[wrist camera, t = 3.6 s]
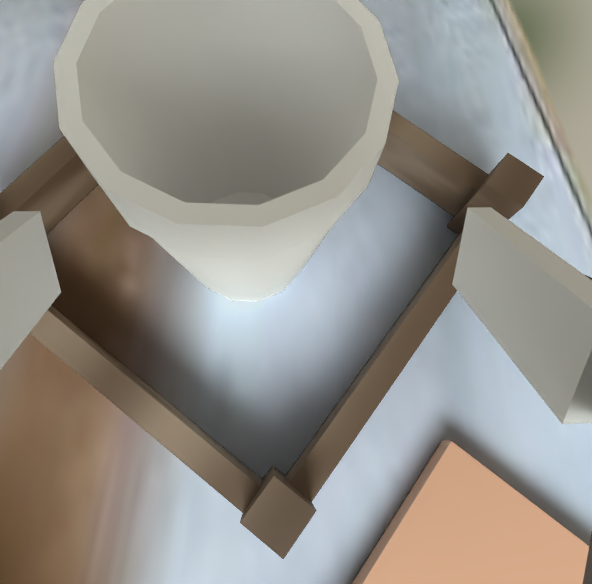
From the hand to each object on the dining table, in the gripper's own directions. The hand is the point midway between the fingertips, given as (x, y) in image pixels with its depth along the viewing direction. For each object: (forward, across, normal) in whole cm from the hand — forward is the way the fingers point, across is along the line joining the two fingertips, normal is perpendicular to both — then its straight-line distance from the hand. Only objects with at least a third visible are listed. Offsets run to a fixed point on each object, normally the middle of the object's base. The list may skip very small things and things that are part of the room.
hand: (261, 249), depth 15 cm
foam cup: (+10, -1, -4) cm, 11 cm away
